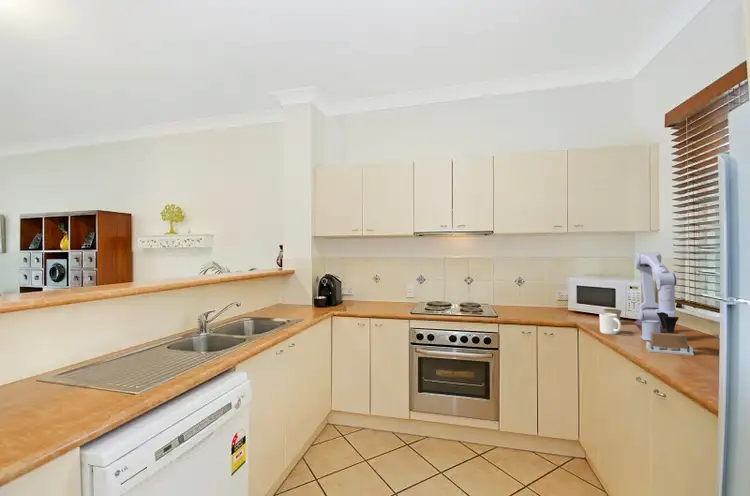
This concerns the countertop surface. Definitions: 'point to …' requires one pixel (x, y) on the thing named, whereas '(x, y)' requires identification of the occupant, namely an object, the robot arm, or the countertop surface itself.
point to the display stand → (670, 349)
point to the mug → (609, 323)
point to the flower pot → (614, 312)
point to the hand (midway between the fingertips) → (667, 330)
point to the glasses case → (669, 340)
